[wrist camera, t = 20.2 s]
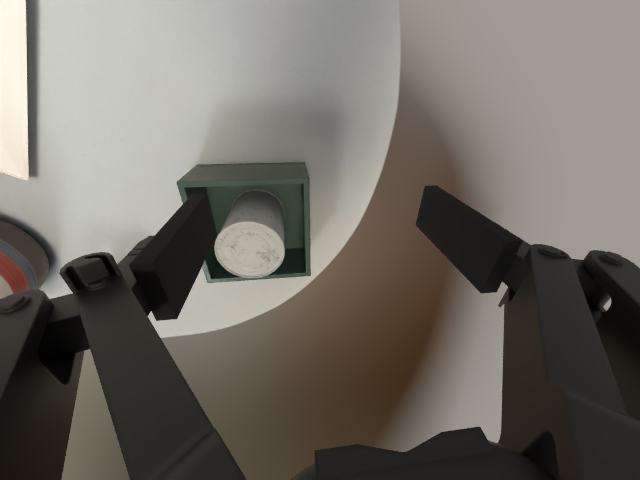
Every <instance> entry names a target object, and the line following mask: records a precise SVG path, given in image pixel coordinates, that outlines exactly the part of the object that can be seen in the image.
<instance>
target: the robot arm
mask: <svg viewBox="0 0 640 480" xmlns="http://www.w3.org/2000/svg"><path fill="white" fill-rule="evenodd" d="M416 226H417V227H418V228H419V229H420V230H421V231H422V232H423V233H424V234H425V235H426V236H427V237H428V238H429V239H430V240H431V242H432V243H434V245H435V246H436V247H437V248H438V249H439V250H440V251H441V252H442V253H443V254H444V255H445V256H446V257H447V258H448V259H449V260H450V261H451V262H452V263H453V265H454V266H455V267H456V268H457V269H458V270H459V271H460V272H461V273H462V274H463V275H464V276H465V277H466V278H467V279H468V280H469V281H470V282H471V283H472V284H473V285H474V286H475V287H476V289H477V290H478V291H479V292H480V293H491V292H497V290H498V288H499V286H500V284H501V282H502V281H503V282H504V283H505V284H506V285H507V286H508V289H507V291H506V293H505V294H504V296H503V298H502V300H501V302H500V303H499V305H498V306H499V307H501V306H502V305H503V304H505V305H504V345H503V346H504V347H503V386H502V387H503V388H502V427H501V436H500V440H499V442H498V443H494V442H491V441H488V440H487V438H486V436H485V435H484V433H483V431H482V429H481V428H480V427H474V428H467V429H460V430H454V431H447V432H441V433H440V434H438V435H436V436H434V437H432V438H431V439H429V440H427V441H425V442H424V443H422V444H420V445H418V446H417V447H415V448H413V449H411V450H410V451H407V452H397V451H392V450H386V449H380V448H374V447H369V446H364V445H358V444H357V445H350V446H343V447H336V448H329V449H323V450H315V463H314V464H312V465H310V466H308V467H306V468H304V469H303V470H302V471H300V472H299V473H298V474H296V475H295V476H294V477H293V478H292V479H291V480H640V268H638V267H637V266H636V265H635V264H634V263H632V262H630V261H629V260H628V259H626V258H623V257H621V256H620V255H618V254H614V253H612V252H605V251H597V250H593V251H590V252H589V253H588V255H587V256H586V257H585V259H584V260H577V259H571V258H570V256H569V255H568V254H566V253H565V252H563V251H561V250H559V249H557V248H554V247H552V246H547V245H542V244H534V245H530V244H528V243H526V242H525V241H523V240H522V239H520V238H519V237H517V236H515V235H514V234H512V233H510V232H509V231H508V230H506V229H504V228H503V227H501V226H500V225H498V224H496V223H495V222H493V221H491V220H490V219H488V218H487V217H485V216H483V215H482V214H480V213H479V212H477V211H476V210H474V209H472V208H471V207H469V206H467V205H466V204H465V203H463V202H461V201H460V200H458V199H457V198H455V197H454V196H452V195H451V194H449V193H447V192H446V191H444V190H443V189H441V188H439V187H438V186H425V189H424V192H423V197H422V201H421V205H420V209H419V213H418V218H417V222H416ZM216 236H217V234H216V230H215V226H214V222H213V218H212V214H211V210H210V206H209V202H208V198H207V194H192V195H191V196H190V197H189V198H188V199H187V200H186V202H185V203H184V204H183V205H182V206H181V207H180V208H179V209H178V210H177V212H176V213H175V214H174V215H173V216H172V217H171V218H170V219H169V221H168V222H167V223H166V224H165V225H164V226H163V227H162V228H161V229H160V231H159V232H158V233H157V234H156V235H155V236H149V237H147V238H145V239H144V240H142V241H140V242H139V243H138V244H137V245H136V246H135V247H134V248H133V250H131V251H130V252H129V253H128V254H127V256H125V257H124V258H123V259H122V261H121V262H120V263H119V264H118V265H117V263H116V262H115V260H114V258H113V256H112V255H111V254H109V253H104V252H100V253H92V254H89V255H85V256H82V257H79V258H77V259H74V260H72V261H71V262H69V263H67V264H66V265H65V266H64V267H63V268H61V270H60V273H59V274H60V275H61V276H62V278H63V279H64V281H65V282H66V283H67V285H68V286H69V288H70V289H71V291H72V292H73V294H69V295H65V296H61V297H57V298H53V299H49V298H48V297H47V295H46V294H45V293H44V292H43V291H41V290H27V291H22V292H19V293H16V294H11V295H8V296H6V297H5V298H2V299H0V480H61V478H62V472H63V467H64V461H65V456H66V450H67V444H68V439H69V433H70V428H71V422H72V416H73V411H74V405H75V400H76V394H77V389H78V383H79V377H80V372H81V366H82V360H83V355H84V350H88V349H91V352H92V356H93V358H94V362H95V365H96V369H97V372H98V375H99V379H100V382H101V385H102V389H103V392H104V395H105V398H106V402H107V405H108V408H109V411H110V415H111V418H112V421H113V425H114V428H115V431H116V434H117V438H118V441H119V444H120V448H121V451H122V454H123V458H124V461H125V464H126V467H127V471H128V474H129V477H130V480H246V478H245V476H244V475H243V473H242V471H241V470H240V468H239V466H238V465H237V463H236V461H235V460H234V458H233V456H232V455H231V453H230V451H229V450H228V448H227V446H226V445H225V443H224V441H223V440H222V438H221V437H220V435H219V433H218V432H217V430H216V429H215V428H214V427H213V426H212V424H211V422H210V421H209V419H208V417H207V416H206V414H205V412H204V411H203V409H202V407H201V406H200V404H199V402H198V400H197V399H196V397H195V395H194V394H193V392H192V390H191V389H190V387H189V385H188V384H187V382H186V380H185V379H184V377H183V376H182V374H181V372H180V371H179V369H178V367H177V365H176V364H175V362H174V360H173V359H172V357H171V355H170V354H169V352H168V350H167V349H166V347H165V345H164V343H163V342H162V340H161V338H160V337H159V335H158V333H157V332H156V330H155V328H154V327H153V325H152V323H151V322H150V320H149V318H148V317H147V316H148V315H149V313H150V311H152V313H153V315H154V317H155V319H156V321H158V320H170V319H177V318H178V316H179V313H180V311H181V309H182V307H183V305H184V303H185V301H186V299H187V297H188V295H189V292H190V290H191V288H192V286H193V284H194V282H195V280H196V278H197V276H198V274H199V271H200V269H201V267H202V265H203V263H204V261H205V259H206V257H207V255H208V253H209V250H210V248H211V246H212V244H213V242H214V240H215V238H216ZM610 298H611V301H612V302H611V306H610V308H609V309H608V310H607V311H606V310H605V309H604V308H603V306H604V305H605V304H606V302H607V301H608V300H609V299H610Z"/></svg>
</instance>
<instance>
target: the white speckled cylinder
mask: <svg viewBox="0 0 640 480" xmlns="http://www.w3.org/2000/svg"><path fill="white" fill-rule="evenodd" d="M284 219H285V210H284V207H283V205H282V203H281V201H280V200H279V199H278V198H277V197H276V196H275V195H274V194H272V193H270V192H268V191H265V190H261V189H252V190H247V191H245V192H243V193H241V194H240V195H238V196H237V198H236V199H235V200H234V202H233V204H232V208H231V210H230V212H229V214H228V216H227V219H226V221H225V223H224V225H223V227H222V229H221V232H220V233H219V234H218V236H217V239H216V241H215V246H214V249H215V255H216V257H217V260H218V261H219V263H220V264H221V265H222V266H223V267H224V268H225V269H226V270H227V271H229V272H231V273H232V274H234V275H237V276H240V277H245V278H259V277H263V276H266V275H269V274H271V273H272V272H274V271H275V270H276V269H277V268H278V267H279V266H280V265H281V263H282V262H283V259H284V256H285V248H284Z"/></svg>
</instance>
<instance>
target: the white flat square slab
mask: <svg viewBox="0 0 640 480" xmlns="http://www.w3.org/2000/svg"><path fill="white" fill-rule="evenodd" d="M0 172H1V173H4V174H7V175H10V176H13V177H16V178H19V179H22V180H25V181H26V180H28V112H27V44H26V0H0Z"/></svg>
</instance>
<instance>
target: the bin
mask: <svg viewBox="0 0 640 480" xmlns="http://www.w3.org/2000/svg"><path fill="white" fill-rule="evenodd" d="M177 185H178V189H179V192H180V195H181V198H182V202H183V204H184V203H185V202H186V200H187V199H188V198H189V197H190V196H191V195H192V194H207V198H208V202H209V206H210V210H211V214H212V218H213V222H214V226H215V230H216V234H217V236H218V234H219V233H220V232H221V229H222V227H223V225H224V223H225V221H226V219H227V216H228V214H229V212H230V210H231V208H232V204H233V202H234V200H235V199H236V198H237V196H238V195H240V194H241V193H243V192H245V191H247V190H252V189H261V190H265V191H268V192H270V193H272V194H274V195H275V196H276V197H277V198H278V199H279V200H280V201H281V203H282V205H283V207H284V210H285V219H284V248H285V256H284V259H283V262H282V263H281V265H280V266H279V267H278V268H277V269H276V270H275V271H274V272H272V273H271V274H269V275H266V276H263V277H259V278H245V277H240V276H237V275H234V274H232V273H231V272H229V271H227V270H226V269H225V268H224V267H223V266H222V265H221V264H220V263H219V261H218V260H217V257H216V255H215V249H214V246H215V241H216V239H217V236H216V238H215V240H214V242H213V244H212V246H211V248H210V250H209V253H208V255H207V257H206V259H205V261H204V263H203V265H202V267H203V270H204V273H205V277H206V280H207V283H215V282H229V281H243V280H257V279H272V278H286V277H300V276H311V269H310V210H309V177H308V173H307V169H306V165H305V162H302V163H257V164H213V165H196V166H195V167H194V168H193V169H191V170H190V171H189V172H188V173H187V174H186V175H184V176H183V177H182V178H181V179H180V180H178V181H177Z"/></svg>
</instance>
